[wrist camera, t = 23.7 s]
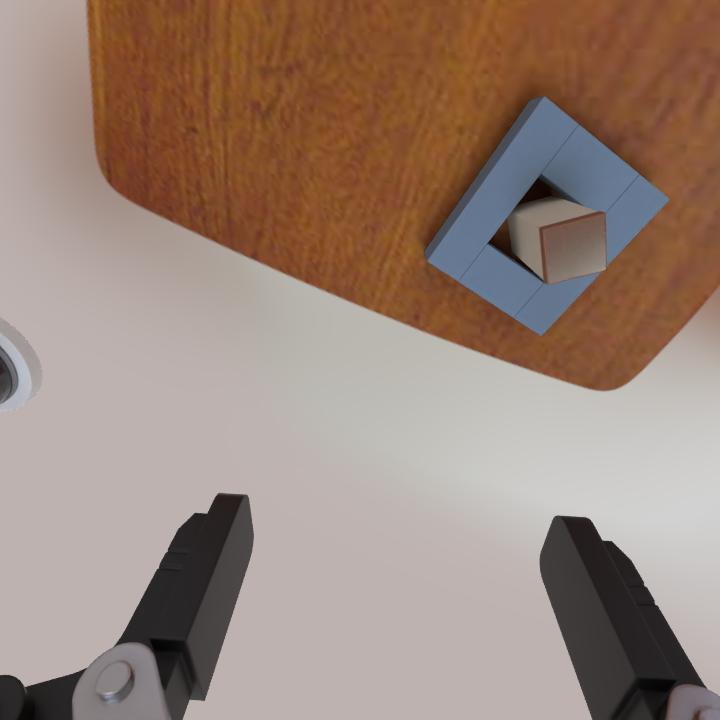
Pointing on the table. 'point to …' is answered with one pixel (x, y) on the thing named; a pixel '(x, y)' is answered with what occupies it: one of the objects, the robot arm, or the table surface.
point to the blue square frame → (508, 186)
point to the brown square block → (559, 238)
